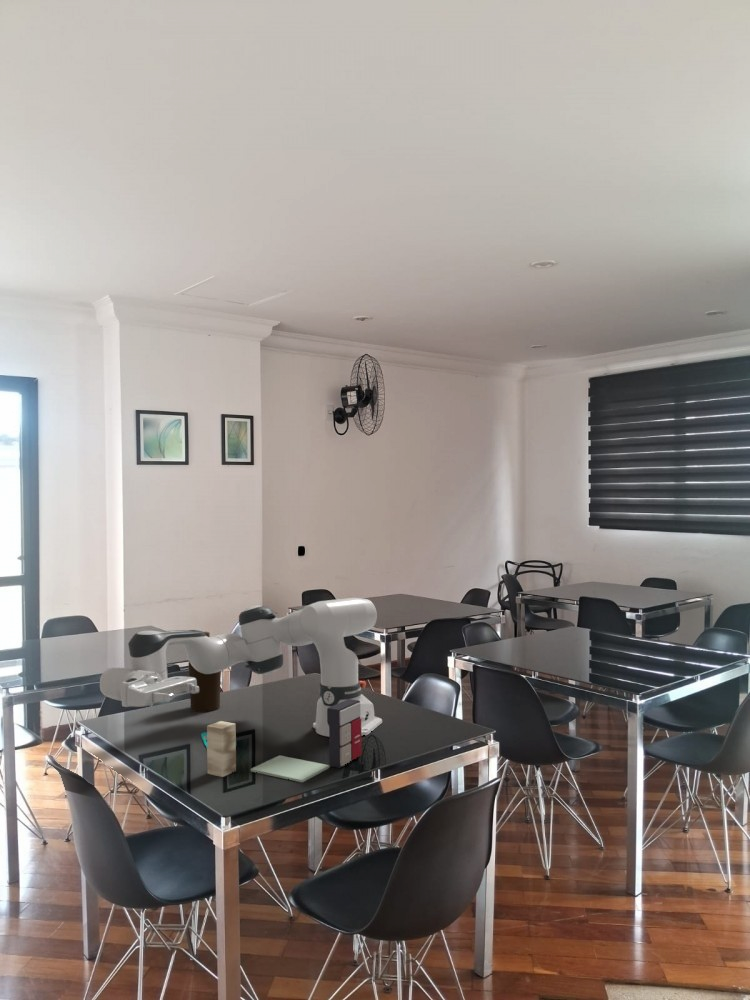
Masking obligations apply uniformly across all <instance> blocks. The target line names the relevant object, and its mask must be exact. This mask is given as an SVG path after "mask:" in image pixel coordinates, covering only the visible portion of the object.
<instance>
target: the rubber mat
mask: <svg viewBox="0 0 750 1000" xmlns="http://www.w3.org/2000/svg"><path fill="white" fill-rule="evenodd" d="M330 767H331V766H330V764H324V763H319V762H315V761H309V760H305V759H299V758H295V757H288V756H284V755H280V754H279V755H278V756H275V757H273V758H271V759H269V760H266V761H264V762H262V763H261V764H258V765H256V766H254V767H252V768H250V772H252V773H256V772H257V773H256V774H260V775H265V776H271V777H275V778H280V779H285V780H288V779H289V781H294V782H298V783H305V782H306V781H307V780H310V779H311V778H313V777H315V776H317V775H319V774H321V773H322V772H324V771H326V770H329V768H330Z"/></svg>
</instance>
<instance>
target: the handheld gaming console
mask: <svg viewBox="0 0 750 1000" xmlns="http://www.w3.org/2000/svg"><path fill="white" fill-rule="evenodd" d="M200 735H201V739H202V741H203V744H204V746H206V747H205V749H207V731H205V732H202V733H201V734H200Z"/></svg>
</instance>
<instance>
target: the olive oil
mask: <svg viewBox="0 0 750 1000" xmlns="http://www.w3.org/2000/svg"><path fill="white" fill-rule="evenodd" d="M203 632H204V633H205V634H206V636H207V637H211V636H210V634H211V633H210V632H209V631H203ZM188 675H189V676H188V677H194V678H196V680H197V686H199V693H196V694H193V693H191V692H190V693H189V695H190V709H191V711H194V712H200V713H203V712H205V713H207V712H212V711H213V712H214V711H216V710H218V709H220V707H221V680H222V679H221V677H222V671H219V672H217V673H212V674H203V673H201V672H199V671H197V670H196V669H195V668H194V667H193V666H192V665H191V663H190V662H189V661H188Z"/></svg>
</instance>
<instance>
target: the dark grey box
mask: <svg viewBox="0 0 750 1000" xmlns="http://www.w3.org/2000/svg"><path fill="white" fill-rule="evenodd" d="M360 715H361V713H360V701H359V700H352V699H347V700H345V701H343V702H341V703H338V704H336V705H334V706H331V707H329V708H328V709H327V723H328V725H329V737H328V738H329V739H328V741H329V744H328V745H329V746H328V747H329V749H328V751H329V756H328V758H329V765H330V767H331V768H337V769H341V768H342V767H344V766H346V765H348V764H349V763H351V762H352V760H353V761H354V759H355V760H356V759H358V758H360V757H361V756H362V736H361V718H360ZM359 756H360V757H359ZM357 757H358V758H357ZM350 761H351V762H350ZM347 763H348V764H347ZM345 764H346V765H345Z"/></svg>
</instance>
